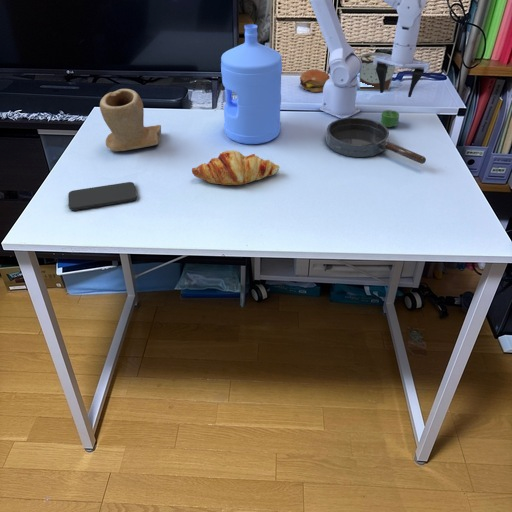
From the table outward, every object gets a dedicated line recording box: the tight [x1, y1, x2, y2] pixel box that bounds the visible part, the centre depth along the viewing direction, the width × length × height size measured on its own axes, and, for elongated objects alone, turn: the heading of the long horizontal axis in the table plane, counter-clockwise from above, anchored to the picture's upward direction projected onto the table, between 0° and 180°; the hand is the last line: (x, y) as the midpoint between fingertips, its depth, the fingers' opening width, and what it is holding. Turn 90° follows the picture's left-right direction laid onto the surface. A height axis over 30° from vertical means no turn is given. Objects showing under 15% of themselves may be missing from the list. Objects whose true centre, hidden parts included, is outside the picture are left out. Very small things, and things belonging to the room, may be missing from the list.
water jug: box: [220, 23, 283, 145], centre depth 129 cm, size 16×16×28 cm
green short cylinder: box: [380, 109, 400, 128], centre depth 139 cm, size 5×5×4 cm
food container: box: [358, 52, 396, 92], centre depth 158 cm, size 12×6×10 cm, turn 84°
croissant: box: [191, 150, 281, 186], centre depth 119 cm, size 21×10×8 cm, turn 98°
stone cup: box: [99, 88, 162, 152], centre depth 128 cm, size 15×12×15 cm
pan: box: [325, 116, 390, 158], centre depth 132 cm, size 16×16×4 cm
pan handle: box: [380, 141, 427, 165], centre depth 123 cm, size 12×2×2 cm, turn 43°
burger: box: [299, 69, 330, 93], centre depth 160 cm, size 10×9×5 cm
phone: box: [67, 181, 138, 211], centre depth 114 cm, size 7×1×15 cm
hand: (395, 93), depth 137 cm, fingers open, 7 cm apart
